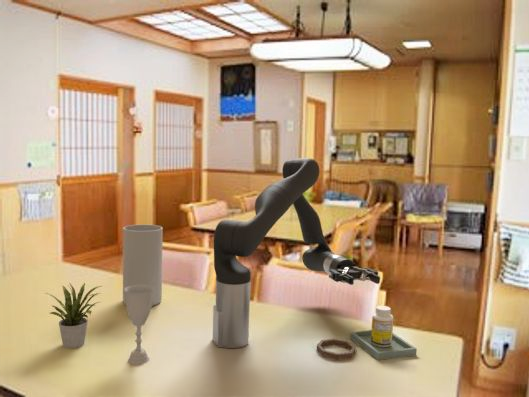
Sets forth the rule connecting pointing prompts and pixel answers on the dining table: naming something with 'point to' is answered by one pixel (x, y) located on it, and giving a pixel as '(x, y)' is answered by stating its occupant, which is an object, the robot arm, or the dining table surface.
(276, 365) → the dining table surface
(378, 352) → the tray
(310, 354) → the dining table surface
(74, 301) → the house plant
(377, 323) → the supplement bottle
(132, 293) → the chalice
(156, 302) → the cylinder vase
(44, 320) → the dining table surface
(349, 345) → the holder ring
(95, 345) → the dining table surface
